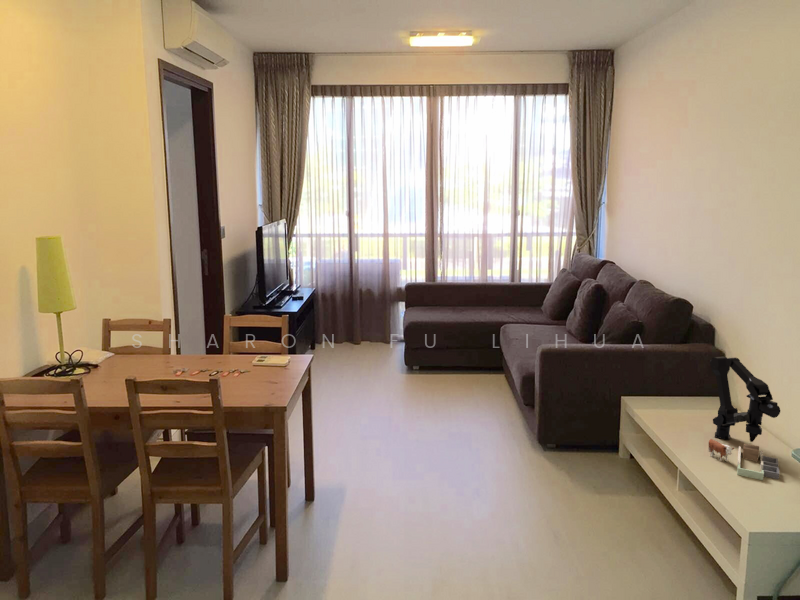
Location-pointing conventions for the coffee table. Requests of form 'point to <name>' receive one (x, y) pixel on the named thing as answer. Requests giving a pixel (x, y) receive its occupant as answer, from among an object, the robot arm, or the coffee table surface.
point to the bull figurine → (719, 449)
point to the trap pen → (767, 468)
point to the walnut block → (750, 452)
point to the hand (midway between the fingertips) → (751, 441)
